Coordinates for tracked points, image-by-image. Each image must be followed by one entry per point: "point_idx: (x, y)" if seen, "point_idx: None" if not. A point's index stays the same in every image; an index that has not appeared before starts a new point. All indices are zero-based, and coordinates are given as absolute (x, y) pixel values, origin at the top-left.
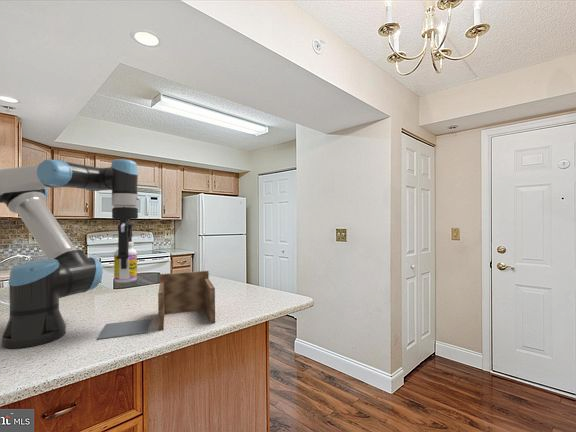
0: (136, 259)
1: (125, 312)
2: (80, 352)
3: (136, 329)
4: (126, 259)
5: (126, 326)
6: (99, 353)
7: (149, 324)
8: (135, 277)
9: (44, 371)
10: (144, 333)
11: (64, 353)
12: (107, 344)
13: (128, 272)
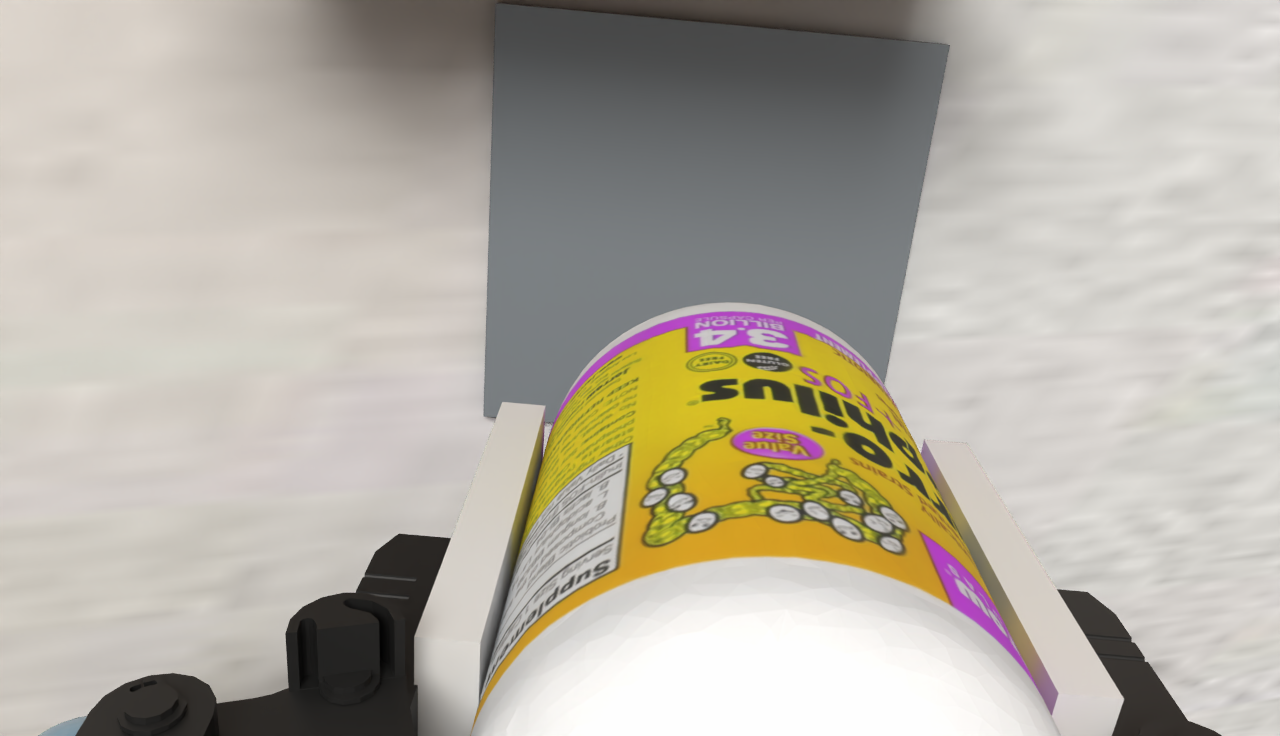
0: (839, 486)
1: (96, 263)
2: (1076, 520)
3: (810, 153)
4: (1107, 723)
5: (659, 244)
6: (1189, 405)
7: (714, 24)
8: (830, 337)
9: (1271, 654)
10: (941, 79)
11: None
12: (1026, 367)
13: (1004, 506)
